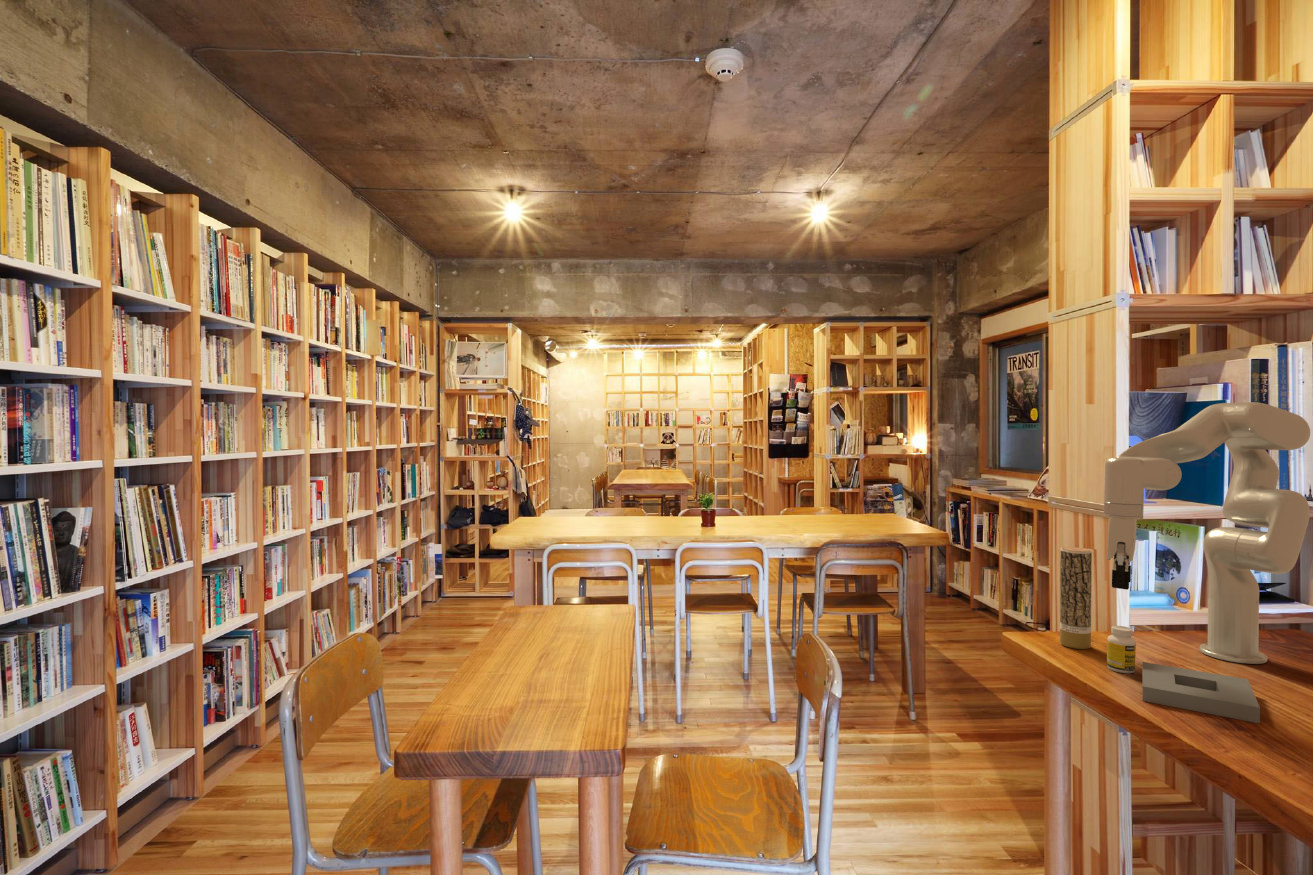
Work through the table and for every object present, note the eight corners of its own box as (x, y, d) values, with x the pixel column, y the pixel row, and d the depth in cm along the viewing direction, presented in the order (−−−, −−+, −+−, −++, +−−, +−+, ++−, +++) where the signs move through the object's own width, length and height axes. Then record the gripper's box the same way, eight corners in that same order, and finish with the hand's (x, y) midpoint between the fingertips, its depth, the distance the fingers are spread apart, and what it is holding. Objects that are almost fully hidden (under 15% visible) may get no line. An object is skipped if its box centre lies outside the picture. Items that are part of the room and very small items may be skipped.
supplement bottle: (1127, 675, 151) (1127, 632, 151) (1102, 668, 156) (1102, 626, 156) (1140, 671, 153) (1140, 629, 153) (1115, 664, 158) (1115, 623, 158)
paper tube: (1095, 651, 168) (1096, 552, 168) (1066, 649, 169) (1066, 551, 169) (1084, 642, 174) (1084, 547, 174) (1055, 641, 176) (1056, 546, 176)
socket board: (1142, 674, 151) (1142, 661, 151) (1247, 693, 141) (1247, 679, 141) (1142, 700, 137) (1142, 686, 137) (1259, 723, 126) (1260, 707, 126)
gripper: (1106, 507, 163) (1104, 576, 163) (1101, 512, 149) (1099, 588, 150) (1144, 509, 159) (1142, 581, 159) (1142, 515, 145) (1140, 594, 145)
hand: (1121, 584), depth 154 cm, fingers open, 9 cm apart
